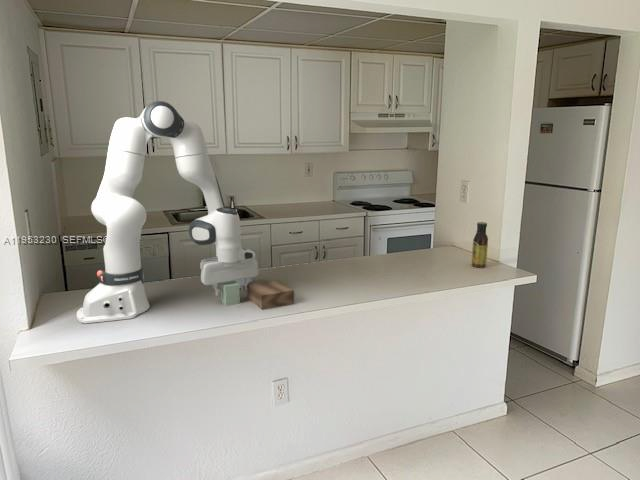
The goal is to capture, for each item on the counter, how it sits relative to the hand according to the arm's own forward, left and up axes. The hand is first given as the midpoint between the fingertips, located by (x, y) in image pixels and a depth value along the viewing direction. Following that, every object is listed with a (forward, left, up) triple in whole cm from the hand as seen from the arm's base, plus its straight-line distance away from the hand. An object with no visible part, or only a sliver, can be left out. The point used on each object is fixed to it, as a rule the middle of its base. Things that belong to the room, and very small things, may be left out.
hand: (231, 292), depth 168 cm
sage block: (-1, -1, -3) cm, 4 cm away
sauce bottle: (+111, -10, -4) cm, 112 cm away
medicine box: (+10, +15, -4) cm, 19 cm away
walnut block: (+12, -6, -3) cm, 14 cm away
